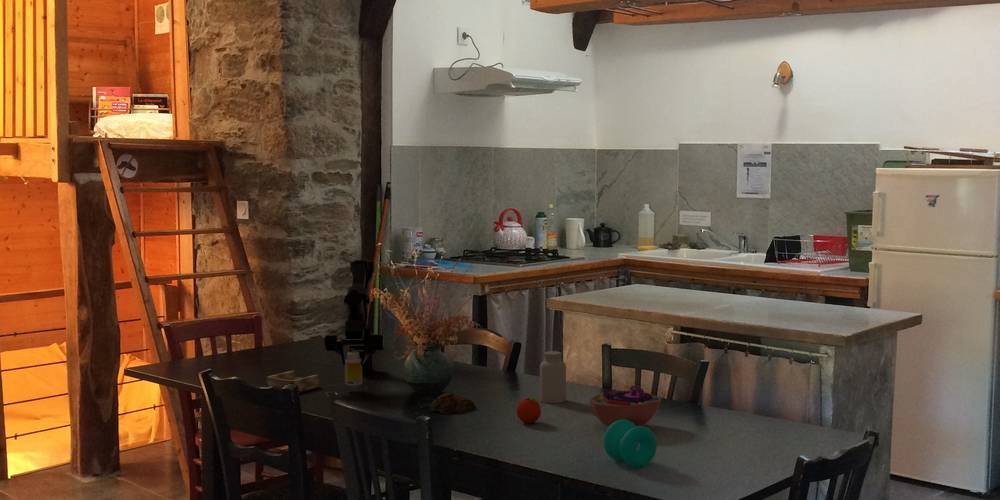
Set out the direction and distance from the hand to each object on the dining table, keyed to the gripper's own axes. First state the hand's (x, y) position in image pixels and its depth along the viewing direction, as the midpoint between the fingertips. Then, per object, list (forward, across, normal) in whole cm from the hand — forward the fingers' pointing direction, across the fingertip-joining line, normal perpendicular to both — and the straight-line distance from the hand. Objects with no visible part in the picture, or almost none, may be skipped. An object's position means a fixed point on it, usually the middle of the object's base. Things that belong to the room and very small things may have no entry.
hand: (352, 364), depth 326 cm
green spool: (+63, +74, -52) cm, 111 cm away
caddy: (+2, -20, +11) cm, 23 cm away
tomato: (+35, +53, -24) cm, 68 cm away
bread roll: (+23, +31, -11) cm, 40 cm away
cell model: (+40, +79, -28) cm, 93 cm away
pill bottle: (+18, +62, -5) cm, 65 cm away
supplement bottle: (+4, 0, +6) cm, 7 cm away
